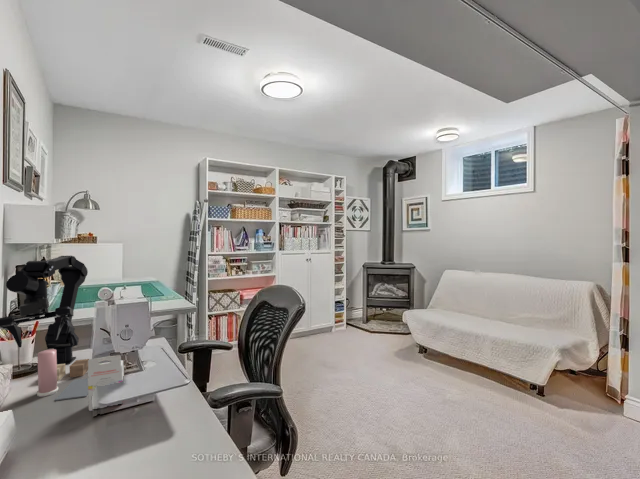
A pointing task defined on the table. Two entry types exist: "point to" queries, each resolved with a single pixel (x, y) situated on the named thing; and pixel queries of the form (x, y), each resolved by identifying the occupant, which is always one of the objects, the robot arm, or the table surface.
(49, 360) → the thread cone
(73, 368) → the walnut block
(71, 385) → the slate mat
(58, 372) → the birch block
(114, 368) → the ink cartridge box
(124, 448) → the table surface
